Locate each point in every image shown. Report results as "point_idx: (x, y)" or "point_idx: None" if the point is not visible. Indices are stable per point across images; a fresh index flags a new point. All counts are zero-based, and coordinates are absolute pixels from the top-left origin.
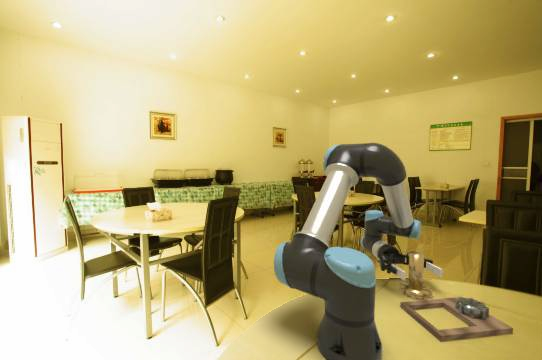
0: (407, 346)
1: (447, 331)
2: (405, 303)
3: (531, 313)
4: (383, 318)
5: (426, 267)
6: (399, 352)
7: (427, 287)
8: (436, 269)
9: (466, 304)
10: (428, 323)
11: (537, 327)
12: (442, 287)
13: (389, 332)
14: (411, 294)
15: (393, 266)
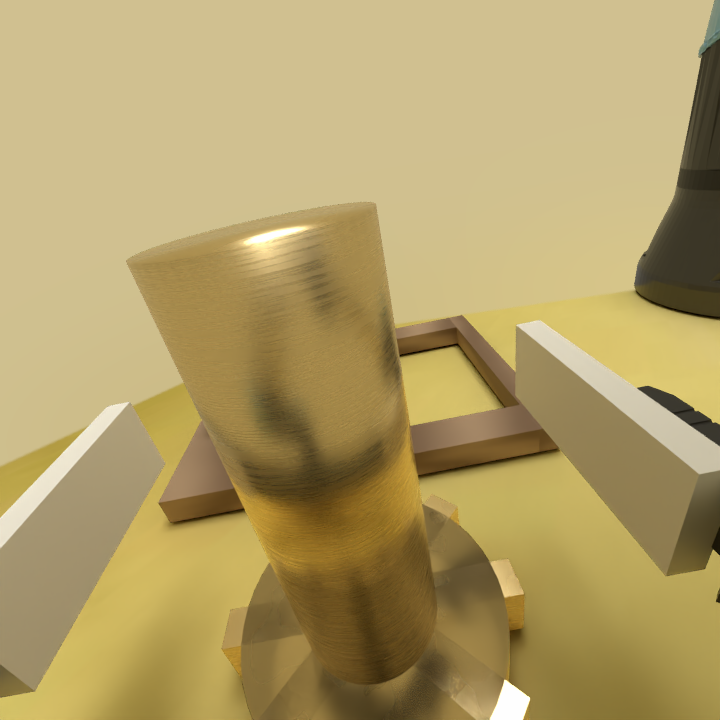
0: (562, 313)
1: (432, 327)
2: (533, 417)
3: (17, 465)
4: (654, 377)
5: (16, 659)
6: (586, 300)
7: (254, 604)
8: (111, 454)
9: None
10: (474, 338)
11: None
12: None
13: (618, 334)
14: (456, 515)
15: (680, 432)
